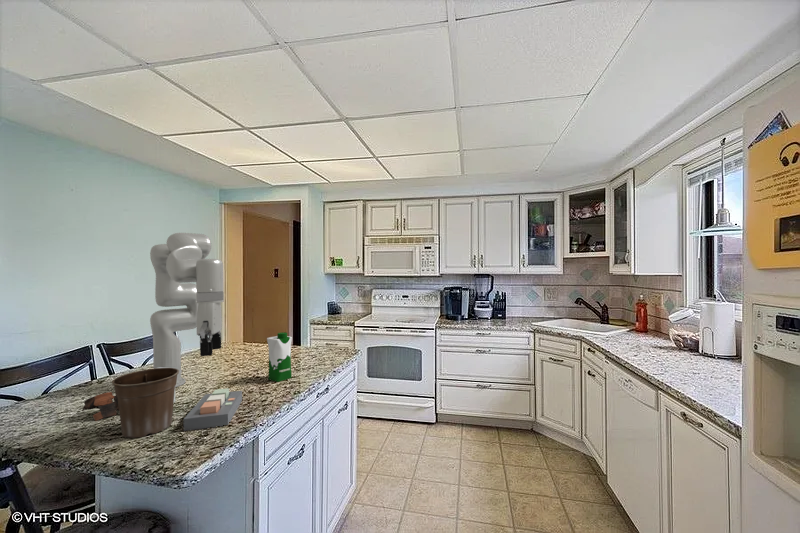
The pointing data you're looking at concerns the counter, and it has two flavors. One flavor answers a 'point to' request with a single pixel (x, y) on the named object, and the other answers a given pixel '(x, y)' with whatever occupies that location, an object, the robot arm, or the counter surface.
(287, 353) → the milk carton
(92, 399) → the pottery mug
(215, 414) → the keypad
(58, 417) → the counter surface
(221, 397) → the cream key
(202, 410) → the terracotta key
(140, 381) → the plant pot
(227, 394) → the sage key
